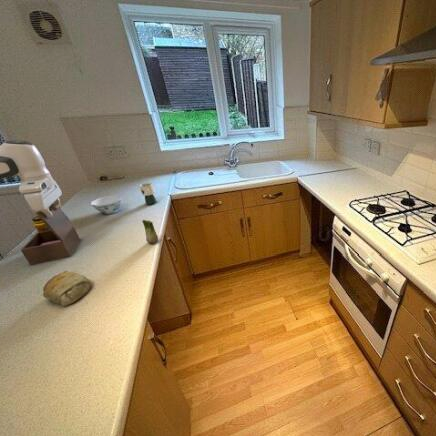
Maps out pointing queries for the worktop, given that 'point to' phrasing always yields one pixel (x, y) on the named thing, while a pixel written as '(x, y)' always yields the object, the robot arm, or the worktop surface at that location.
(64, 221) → the chest lid
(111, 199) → the chinaware
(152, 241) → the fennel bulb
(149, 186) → the character mug
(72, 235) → the chest
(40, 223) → the condiment
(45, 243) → the pink rectangular block
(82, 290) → the pastry
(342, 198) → the worktop surface
